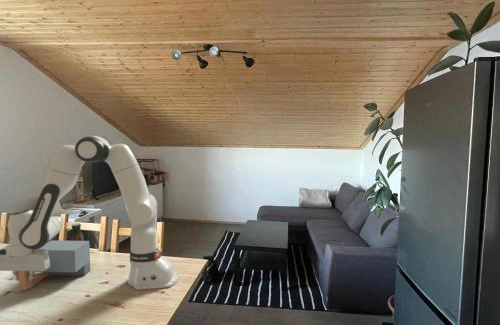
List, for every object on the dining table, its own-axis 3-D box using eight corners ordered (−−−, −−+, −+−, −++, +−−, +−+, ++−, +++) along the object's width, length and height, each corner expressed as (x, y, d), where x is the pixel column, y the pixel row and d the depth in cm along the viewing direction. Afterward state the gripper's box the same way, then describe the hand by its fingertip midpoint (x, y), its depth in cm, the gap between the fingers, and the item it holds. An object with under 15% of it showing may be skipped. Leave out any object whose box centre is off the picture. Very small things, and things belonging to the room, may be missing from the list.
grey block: (90, 270, 144) (89, 240, 143) (76, 283, 132) (74, 250, 131) (53, 270, 144) (51, 240, 143) (35, 282, 132) (33, 250, 131)
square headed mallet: (50, 276, 137) (48, 257, 136) (25, 290, 124) (24, 269, 124) (44, 275, 137) (43, 256, 136) (19, 289, 125) (17, 269, 124)
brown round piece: (46, 277, 137) (46, 273, 137) (38, 281, 133) (38, 277, 133) (37, 276, 138) (37, 272, 137) (29, 281, 133) (29, 276, 133)
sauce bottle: (82, 257, 159) (81, 221, 158) (87, 260, 155) (86, 223, 154) (69, 261, 154) (67, 224, 153) (73, 264, 150) (72, 226, 149)
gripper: (52, 246, 128) (54, 276, 129) (5, 245, 127) (6, 276, 129) (42, 251, 121) (44, 284, 123) (-8, 251, 121) (-6, 283, 122)
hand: (24, 280), depth 126 cm, fingers closed on square headed mallet, 3 cm apart
